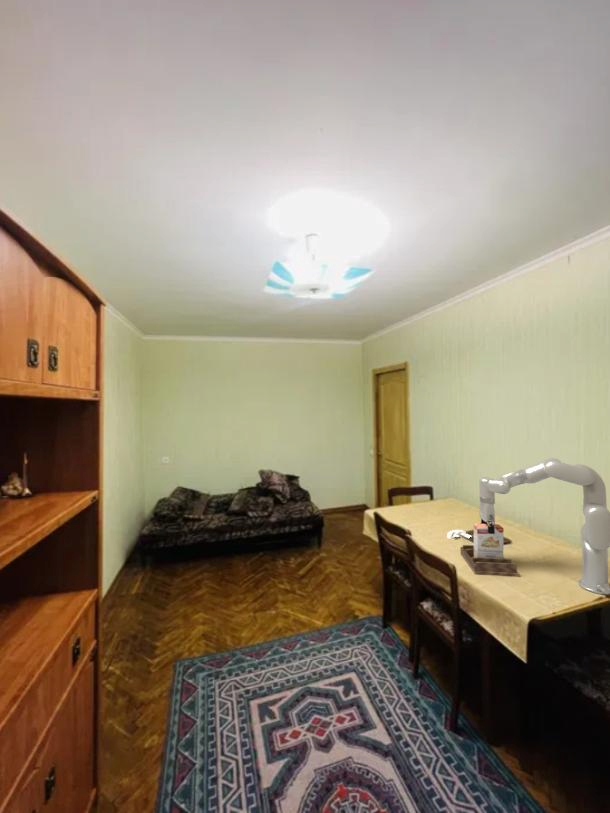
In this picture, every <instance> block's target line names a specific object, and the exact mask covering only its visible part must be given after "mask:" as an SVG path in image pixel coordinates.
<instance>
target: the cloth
mask: <svg viewBox="0 0 610 813" xmlns="http://www.w3.org/2000/svg"><path fill="white" fill-rule="evenodd" d="M466 532H467V531H465V530H463V529H453V530H450V531H447V534H446V538H447V540H448V539H451V538H453V539H455V540H456V539H457V540H460V539H461V536H462V537H464V538H466V539H469V538H470V537H471V538H473V535H471V534H468V533H466ZM459 535H460V536H459Z"/></svg>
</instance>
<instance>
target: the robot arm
mask: <svg viewBox="0 0 610 813" xmlns="http://www.w3.org/2000/svg"><path fill="white" fill-rule="evenodd" d="M549 478H554V479H556V480H559V481H564V482H567V483H570V484H575V485H578V486H582V491H583V492H582V493H583V504H582V513H583V515H584V518H585V519H584V520H585V521H584V522H585V523H584V524H583V525H582V526H581V529H580V535H581V536H580V538H581V568H582V569H581V571H582V572H581V573H582V574H581V575H582V576H581V578H579V580H578V582H577V583H578V585H579V586H580V588H583V589H584V590H586V591H589V592H591V593H594V594H598V595H610V585H609V564H608V562H609V561H608V558H609V557H608V552H609V551H608V549H610V511H609V510H608V507H607V506H608V504H607V489H606V484H605V481H604V480H603V478H602V477H601V475H600V474H599V473H598V472H597V471H596V470H594V469H593V468H591V467H590V466H588V465H585V464H581V463H580V464H579V463H578V464H574V465H573V464H569V463H566V462H562V461H561V460H560V459H558V458H553V457H551V458H550V457H549V458H548V459H544V460H542V461H540V462H537V463H534V464H531V465H529V466H526V467H524V468H520V469H518V470H516V471H513V472H512V471H511V472H509V473H507V474H504V475H502V476H499V477H497V479H495V480H494V478H492V477H488V476H487V477H480V478H479V481H478V484H479V517H480V524H488V525H489V526H488V533H489V534H495V524H496V519H495V518H496V517H495V516H496V514H495V504H496V494H500V495H506V494H508V493H510V491H511V489H512V488H514V487H517V486H519V485H525V484H536V483H538V482H541V481H543V480H547V479H549Z"/></svg>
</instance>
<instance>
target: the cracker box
mask: <svg viewBox="0 0 610 813" xmlns="http://www.w3.org/2000/svg"><path fill="white" fill-rule="evenodd" d="M488 526H489V525H488V523H487V524H481V523H473V545H474V557H477V558H499V559H503V557H504V529H505V528H504V527H503V526H502V525H501V524H497V523H495V534H489V533H488Z"/></svg>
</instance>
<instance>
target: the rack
mask: <svg viewBox="0 0 610 813" xmlns="http://www.w3.org/2000/svg"><path fill="white" fill-rule="evenodd" d="M460 555H461V557H462V558H463V560H464V561H465V562H466V564H467V565H468V567H469V568H470V569H471V571H472V572H473V574H474V575H479V576H481V575H482V576H496V577H497V576H499V577H500V576H501V577H518V578H519V577H520V576H521V575H520V573H519V572H518V571H517V566H518V564H517V563H513V559H512V558H505V557H504V556H503V559H499V558H477V557H474V544H472V545H471V544H469V545H468V544H462V546H460Z"/></svg>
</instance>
